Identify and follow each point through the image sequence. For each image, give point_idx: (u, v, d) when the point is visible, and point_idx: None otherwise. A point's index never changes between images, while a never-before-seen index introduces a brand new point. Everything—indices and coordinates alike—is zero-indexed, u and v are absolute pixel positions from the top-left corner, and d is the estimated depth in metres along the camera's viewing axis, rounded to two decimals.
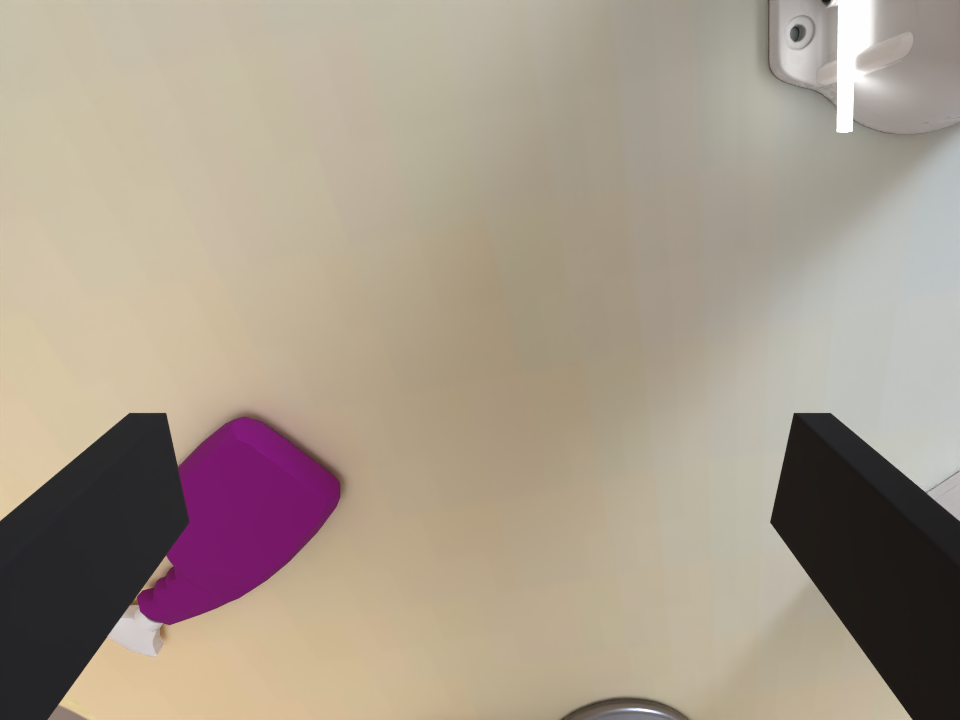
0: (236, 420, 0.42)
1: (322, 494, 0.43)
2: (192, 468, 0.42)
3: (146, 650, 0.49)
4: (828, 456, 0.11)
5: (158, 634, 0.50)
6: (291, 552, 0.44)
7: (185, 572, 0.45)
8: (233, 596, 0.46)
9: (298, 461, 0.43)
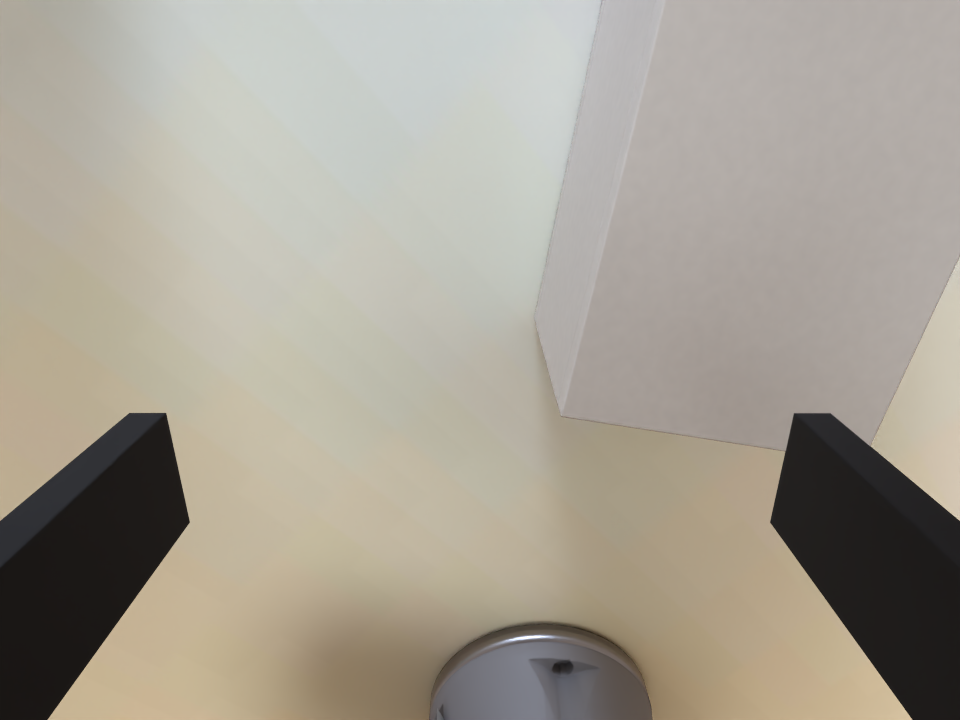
0: None
1: None
2: None
3: None
4: (828, 456, 0.11)
5: None
6: None
7: None
8: None
9: None
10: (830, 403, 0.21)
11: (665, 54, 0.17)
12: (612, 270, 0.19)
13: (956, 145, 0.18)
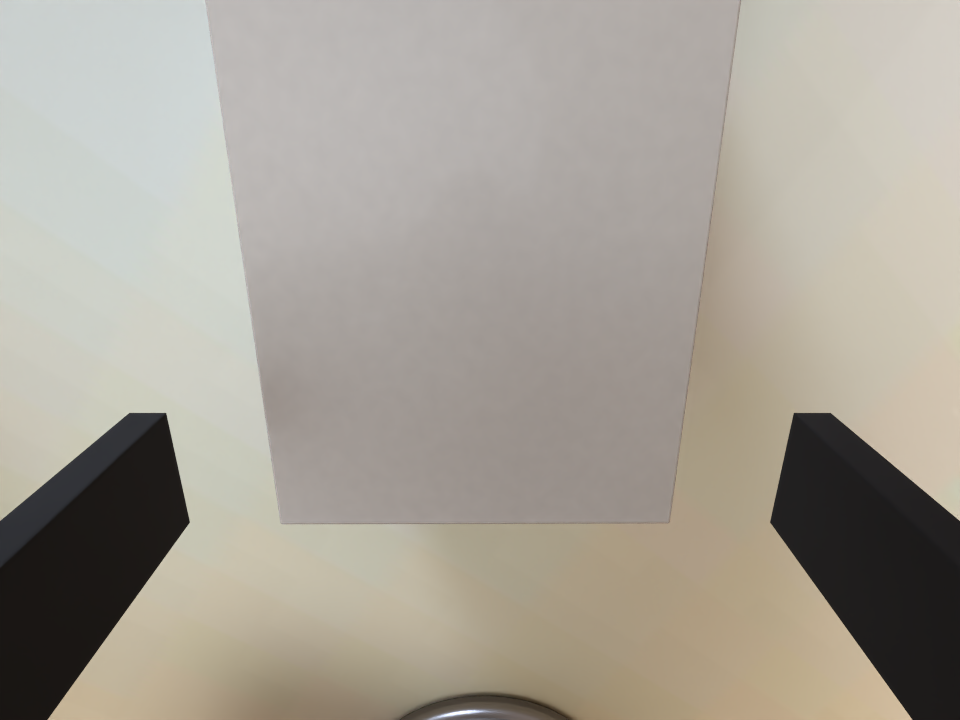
0: None
1: None
2: None
3: None
4: (828, 456, 0.11)
5: None
6: None
7: None
8: None
9: None
10: (603, 460, 0.17)
11: (235, 79, 0.13)
12: (274, 348, 0.16)
13: (651, 122, 0.14)
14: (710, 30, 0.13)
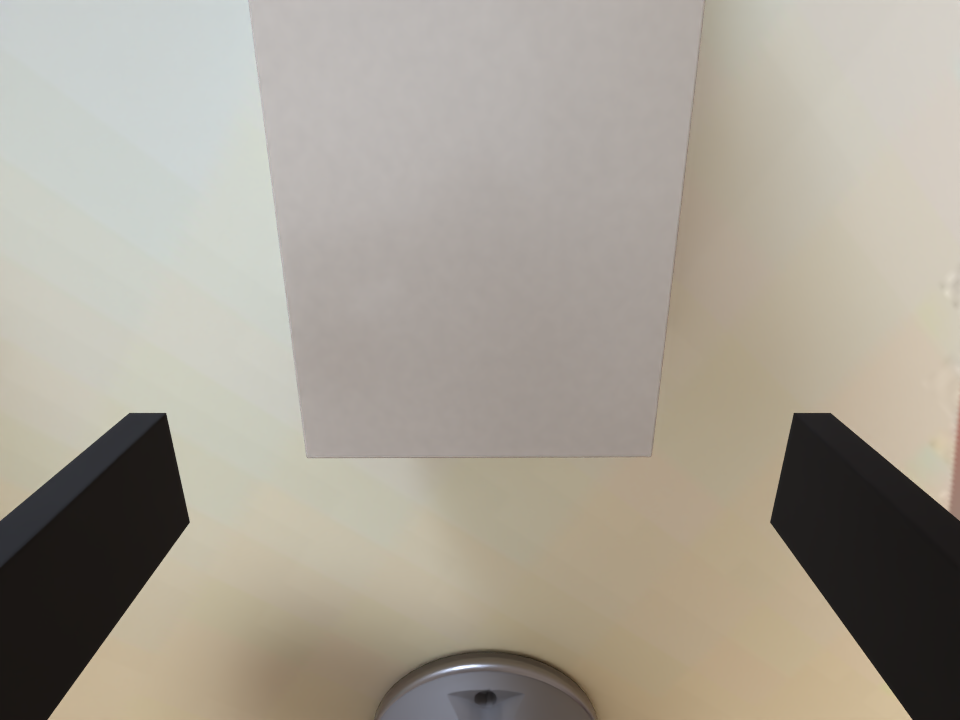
0: None
1: None
2: None
3: None
4: (828, 456, 0.11)
5: None
6: None
7: None
8: None
9: None
10: (592, 399, 0.19)
11: (271, 59, 0.15)
12: (302, 298, 0.18)
13: (631, 95, 0.16)
14: (680, 15, 0.15)
